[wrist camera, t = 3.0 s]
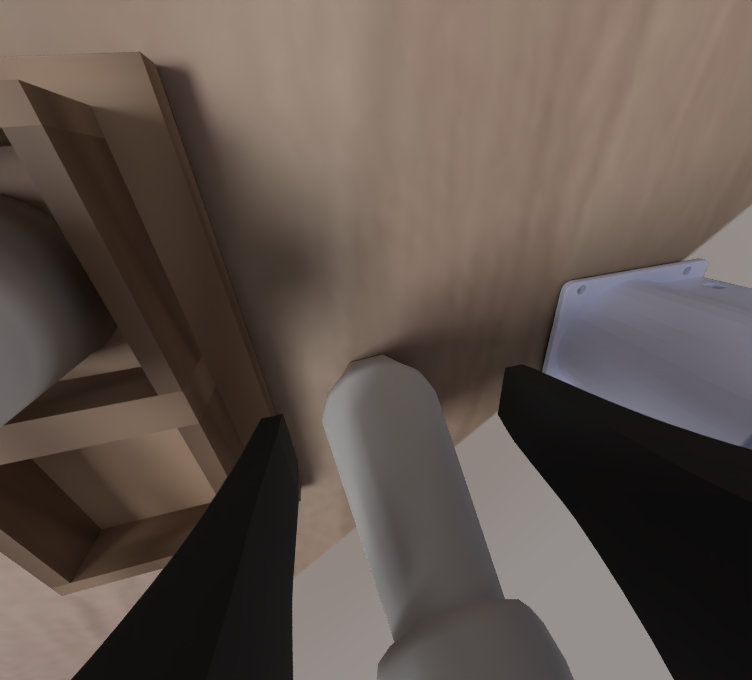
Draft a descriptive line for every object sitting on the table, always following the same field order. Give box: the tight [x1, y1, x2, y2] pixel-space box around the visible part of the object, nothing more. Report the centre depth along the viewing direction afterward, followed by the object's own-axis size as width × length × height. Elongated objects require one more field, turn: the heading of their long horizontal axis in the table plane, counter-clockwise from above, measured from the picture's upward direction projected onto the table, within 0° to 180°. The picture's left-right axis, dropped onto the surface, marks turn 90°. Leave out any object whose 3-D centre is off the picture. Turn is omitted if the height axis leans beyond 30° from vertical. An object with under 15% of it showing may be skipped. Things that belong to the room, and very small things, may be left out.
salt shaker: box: [322, 354, 574, 680], centre depth 11 cm, size 6×6×13 cm
